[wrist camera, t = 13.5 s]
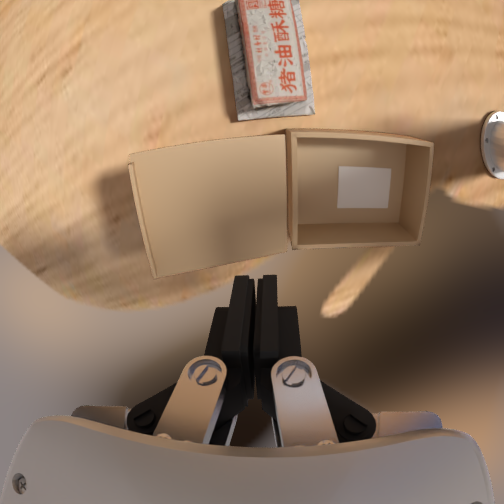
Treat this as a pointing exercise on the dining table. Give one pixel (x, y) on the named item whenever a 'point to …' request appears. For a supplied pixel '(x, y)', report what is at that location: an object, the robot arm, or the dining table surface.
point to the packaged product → (268, 58)
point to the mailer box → (356, 188)
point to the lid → (211, 202)
